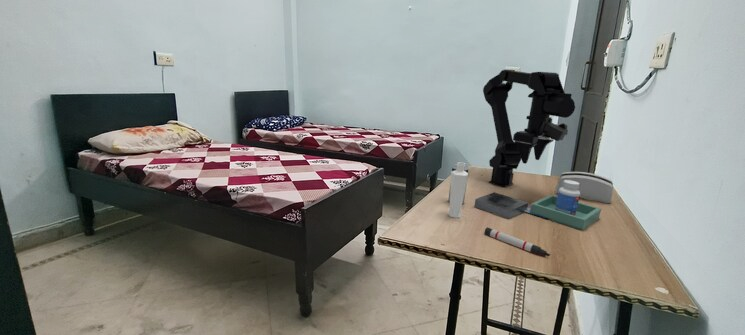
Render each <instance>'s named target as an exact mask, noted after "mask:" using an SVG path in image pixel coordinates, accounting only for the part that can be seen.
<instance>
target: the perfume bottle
mask: <svg viewBox="0 0 745 335" xmlns="http://www.w3.org/2000/svg"><path fill="white" fill-rule="evenodd" d="M456 163H457V170H455V171H452V170H451V171H450V182H451V188H450V187H449V191H450V201H449V209H448V212H447V215H448V216H449V217H450V218H457V219H458V218H459V219H460V218H461V217H462V207H463V204H464V203H463V198H464V193H465V194H466V192H465V188H466V189H467V185H466V183H468V177H469V172H468V173H467V172H466V171H464V165H465V164H466V163H465V162H460V161H459V162H456Z"/></svg>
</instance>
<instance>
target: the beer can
mask: <svg viewBox="0 0 745 335" xmlns="http://www.w3.org/2000/svg"><path fill="white" fill-rule="evenodd" d="M457 163H458V162H456V163H454V164H453V165H452V167H451V172H452V171H455V170H457ZM464 171H466V172H467V173H468V174H469V167H468V164H466V163H465V165H464ZM467 183H468V182H467ZM467 183H466V186H467ZM450 188H451V181H450V184H449V189H450ZM448 191H449V194H448V202H450V190H448ZM466 191H467V187H466V188H465V193H464V198H463V203H462V204H464V203H465V199H466Z"/></svg>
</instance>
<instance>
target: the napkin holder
mask: <svg viewBox="0 0 745 335" xmlns="http://www.w3.org/2000/svg"><path fill="white" fill-rule="evenodd" d="M564 180H571V181H576V182H578V183H579V188H578V189H577V190H578V191H579V192H580V198H579V199H583V198H584V200H591V201H594V202H599V203H600V202H601V203H607V204H611V203H612V197H613V189H614V183H613V180H611V179H609V178H607V177H605V176H602V175H599V174H596V173H591V172H583V171H566V172H562V173H561V175H560V177H559V179H558V182H557V185H556V187H555V190H554V193H555V194H557V193H558V192H559V189H560V188H561V187H563V182H564Z"/></svg>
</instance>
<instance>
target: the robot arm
mask: <svg viewBox="0 0 745 335" xmlns="http://www.w3.org/2000/svg"><path fill="white" fill-rule="evenodd" d="M514 83H515V84H521V85H526V86H527V87H528V89H529V90H533V91H532V92H531V93H529V94H528V95H527V97H528V98H532V99H531V104H530V110H529V115H526V120H527V121H528V123H527V128H524V130H521V131H516V132H515V133H513V136H512V132H511V131H512V130H511V126H510V120H509V115H508V110H507V106H506V102H507V100H508V98H509V92H510V91H511V90H512V89H513V84H514ZM482 92H483V95H484V100H485V101H486V103H487V104H489V106H490V107H491V112H492V113H491V114H492V117H493V123H494V128H495V133H496V139H497V145H496V147H495V149H494V155H493V156H492V157H491V158H490V159H489V167H491V168H492V172H491V179H490V180H488V183H489V184H493V185H496V186H499V187H503V188H506V187H508V186H511V185H513V180H514V171H513V170H514V169H515V170H517V169H518V167H519V164H520V163H521V162H522V163H523V164H525V165H526V164H527V163H528V161H529V158H530V155H531V152H532V149H533V152H534V153H533V154H534V157H535V158H534V159H535V161H539V160H540V159H541V157H542V156H543V153H544V151H545V149H546V147H547V145H549V144H550V143H552V142H554V141H556V142H559V141H563V139H564V137H566V136H567V135H568V134H569V132H568V131H569V129H568V125H567V124H566V123H564V122H563V123H562V122H561V123H559V124H557V123H556V124H555V123H553V118H552V117H550V116H553V117H559V118H563V119H564V118H569V117H571V116H572V115H573V114H574V113H575V109H576V106H575V105H576V104H575V101H574V99H573V98H572V93H568V92H567V93H566V92H565V90H564V87H563V84H562V81H561V79H560V75H559V73H557V72H551V71H550V72H549V71H535V72H534V71H533V72H524V71H518V70H515V69H502V70H501V71H500V72H499V73H498V74H497V75H495V76H493V77H492V78H490V79H489V80H488V81H487V82H486V83H485V85H484V86H483V88H482Z"/></svg>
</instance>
